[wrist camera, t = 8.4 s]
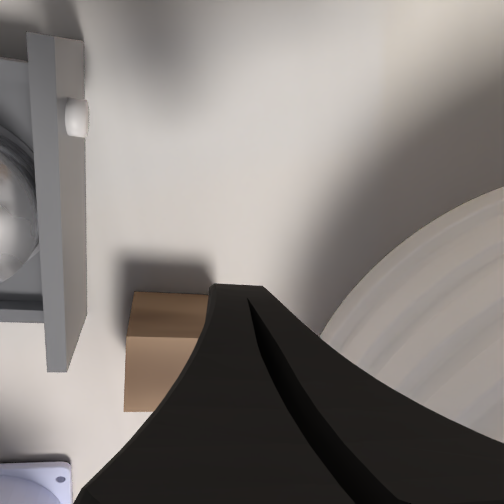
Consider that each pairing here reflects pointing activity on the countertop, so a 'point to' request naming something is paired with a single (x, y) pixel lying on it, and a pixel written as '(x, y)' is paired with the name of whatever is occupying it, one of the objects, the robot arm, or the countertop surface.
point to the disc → (16, 208)
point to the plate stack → (436, 317)
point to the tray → (50, 189)
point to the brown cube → (159, 344)
